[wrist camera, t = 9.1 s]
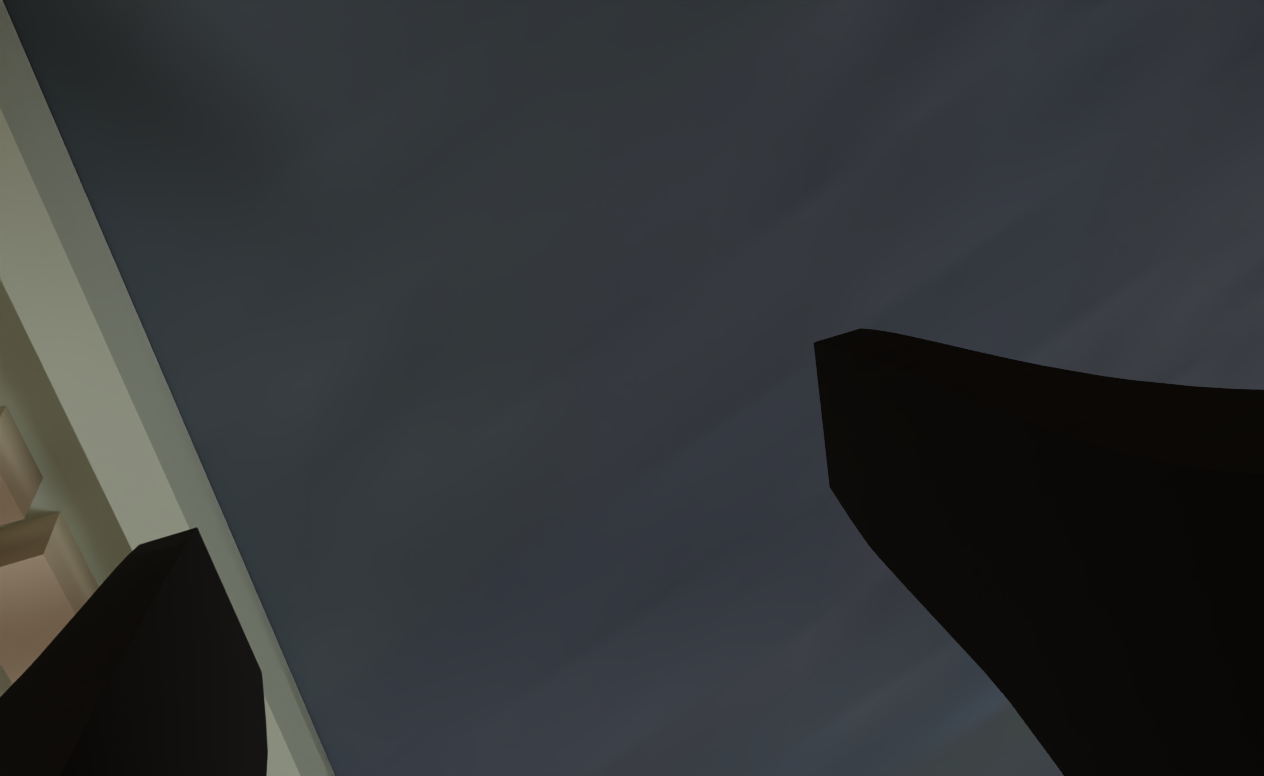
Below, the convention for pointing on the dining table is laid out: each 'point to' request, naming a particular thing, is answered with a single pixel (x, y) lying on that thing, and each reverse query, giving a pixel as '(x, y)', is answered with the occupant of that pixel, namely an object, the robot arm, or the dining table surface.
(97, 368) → the tray
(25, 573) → the tan joined block frame
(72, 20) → the dining table surface
